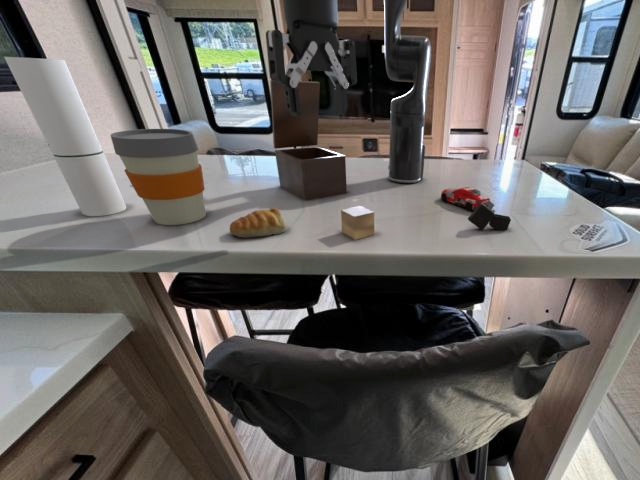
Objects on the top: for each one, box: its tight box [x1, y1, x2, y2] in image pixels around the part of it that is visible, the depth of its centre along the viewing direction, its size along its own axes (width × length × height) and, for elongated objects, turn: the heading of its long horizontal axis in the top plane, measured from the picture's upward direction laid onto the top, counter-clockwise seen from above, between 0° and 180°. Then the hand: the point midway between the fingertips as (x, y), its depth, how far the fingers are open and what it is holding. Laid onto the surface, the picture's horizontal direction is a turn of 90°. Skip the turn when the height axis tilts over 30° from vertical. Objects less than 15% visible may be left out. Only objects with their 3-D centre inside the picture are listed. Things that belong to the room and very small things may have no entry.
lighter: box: [467, 201, 512, 231], centre depth 68 cm, size 8×2×5 cm
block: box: [340, 205, 375, 241], centre depth 62 cm, size 4×4×4 cm
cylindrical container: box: [3, 56, 127, 217], centre depth 61 cm, size 7×7×25 cm
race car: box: [440, 186, 491, 212], centre depth 80 cm, size 13×5×4 cm, turn 39°
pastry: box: [229, 207, 287, 239], centre depth 61 cm, size 9×7×4 cm
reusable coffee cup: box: [110, 128, 207, 226], centre depth 62 cm, size 13×13×15 cm
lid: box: [269, 79, 321, 150], centre depth 81 cm, size 14×12×5 cm
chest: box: [274, 145, 348, 201], centre depth 83 cm, size 14×12×9 cm
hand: (319, 115), depth 55 cm, fingers open, 8 cm apart
